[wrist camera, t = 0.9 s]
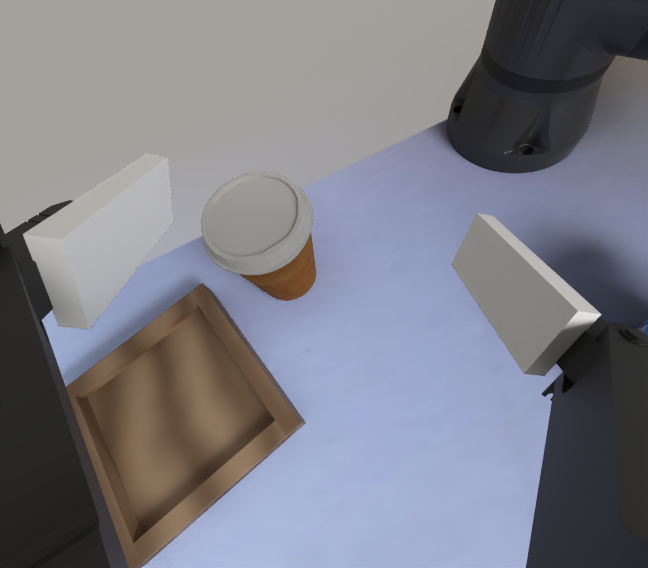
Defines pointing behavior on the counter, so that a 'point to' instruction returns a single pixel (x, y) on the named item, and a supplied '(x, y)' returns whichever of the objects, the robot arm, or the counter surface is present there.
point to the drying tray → (177, 421)
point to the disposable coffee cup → (262, 233)
